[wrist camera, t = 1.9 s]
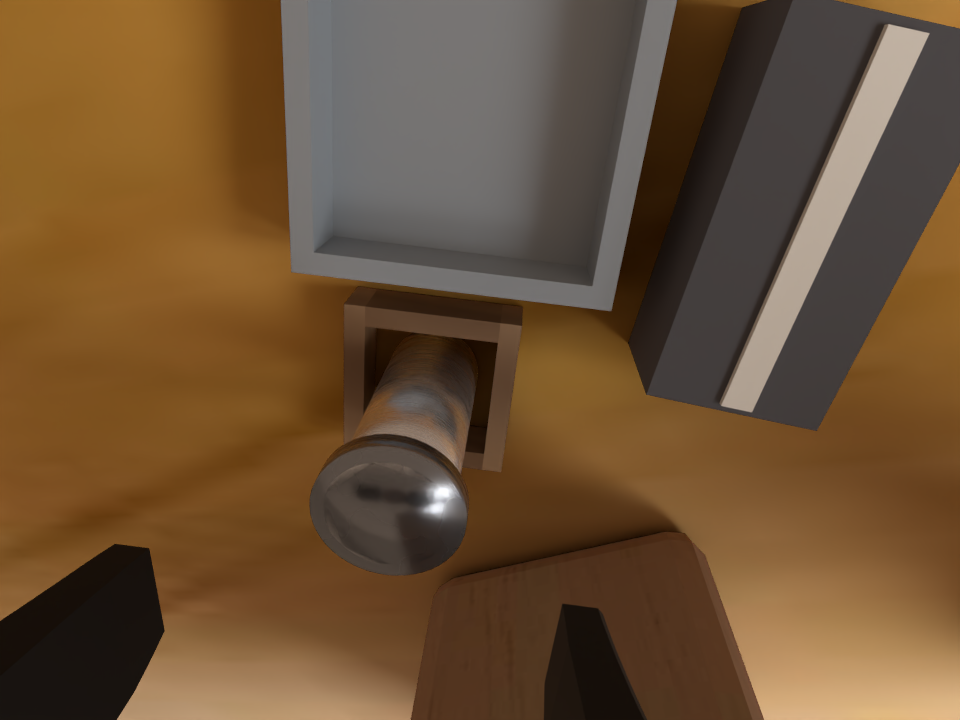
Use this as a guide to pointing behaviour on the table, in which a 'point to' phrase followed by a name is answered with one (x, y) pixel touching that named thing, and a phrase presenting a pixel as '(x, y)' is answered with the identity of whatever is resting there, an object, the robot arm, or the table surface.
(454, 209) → the tray
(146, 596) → the robot arm
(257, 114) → the table surface
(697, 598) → the wooden block
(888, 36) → the block
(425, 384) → the pin
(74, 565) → the table surface
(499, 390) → the collar
